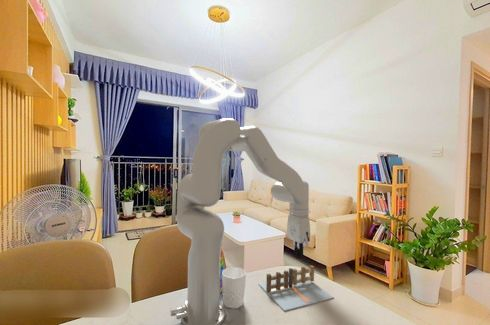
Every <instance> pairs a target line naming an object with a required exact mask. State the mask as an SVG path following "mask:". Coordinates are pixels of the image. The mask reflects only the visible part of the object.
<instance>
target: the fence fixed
mask: <svg viewBox="0 0 490 325" xmlns="http://www.w3.org/2000/svg"><path fill="white" fill-rule="evenodd" d="M293 269H294V268H291V267H290V268H289V267H288V270H284V271H283V273H281V272H280V271H276V272H275V275H274V274H273V275H272V274H271V273H267V274H266V282H267V284H266V291H267V292H268V293H269V292H271V289H273V288H276V289H277V290H280V287H282V286H284V288H285V289H286V288H288V285H289V287H292V281H293ZM288 277H289V281H288ZM283 278H284V282H281V279H283ZM273 280H276V283H275V284H271V281H273Z"/></svg>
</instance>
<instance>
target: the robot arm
mask: <svg viewBox="0 0 490 325" xmlns="http://www.w3.org/2000/svg"><path fill="white" fill-rule="evenodd" d="M197 135H198V140H199V141H198V142H197V143H196V145H195V147H194V148H195V149H194V153H193V158H192V169H191V171H192V172H191V173H188V174H186V175H185V176H183V177H182V179H181V180H180V182H179V183H178V186H177V197H176V224H177V229H178V230H179V231H180V233H182V235H184V236H186V237H187V238H189V239H190V240H191V243H190V248H189V251H188V255H187V296H186V297H187V300H184V304H181V306H179V307H173V308H170V317H174V316H175V320H181V322H182V323H181V324H182V325H221V324H222V323H223V322H224V320H225V316H226V313H225V309H224V308H223V306H222V305H220V303H221V302H220V301H221V293H220V259H221V256H222V255H221V251H222V247H221V245H222V246H223V239H224V235H225V224H224V222H223V220H222V218H221V217H220V216H219V215H218V214H216V213H215V212H213V211H210V210H207V209H205V207H206V208H207V207H208V208H210V207H213V206H215V205H217V203H218V202H219V200H220V198H221V190H222V188H221V187H222V165H223V164H222V163H223V158H224V156H225V154H226V152H227V151H230V152H245V153H246V155H247V156H248V158H249V159H250V161H251V162H252V164H253V165H254V166H255V168H256V170H257V171H258V172H259V173H261V174H262V175H264V176H266V177H268V178H271V179H273V180H275V181H276V182H274V183H273V185H272V186H271V187H270V194H271V196H272V198H274V199H275V200H277V201H280V202H285V203H289V204H288V206H289V213H288V217H287V224H286V225H287V226H286V236H287V238H288V239H290V240H291V241H292V242H293V243H292V245H293V247H294V248H293V250H294V253H293V255H294V258H296V259H300V258H304V249H305V247H308V246H309V242H310V241H311V224H310V217H309V215H310V214H309V205H310V204H309V199H310V198H309V197H310V196H309V194H310V193H309V191H310V190H309V188H310V186H309V183H308V182H306V181H303V179H302V177H301V175H300V174H299V173H298V171H296V170H295V169H294V168H292V167H291V166H290V165H289V164H287V163H286V162H285V161H284V160H282V159H280V158H279V157H278V156H277V155H278V154H276V152H275V150H274V149H273V147H272V146H271V144H270V142H269V141H268V139H267V137H266V136H265V134H264V133H263V131H262V130H261V129H260V127H257V126H254V125H250V126H243V127H241V125H240V122H238V120H236V119H234V118H232V117H231V118H228V117H227V118H226V117H225V118H220V119H216V120H213V121H212V120H211V121H209V122H206V123H204V124H202V125H201V126H200V128H199V130H198V134H197Z"/></svg>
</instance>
